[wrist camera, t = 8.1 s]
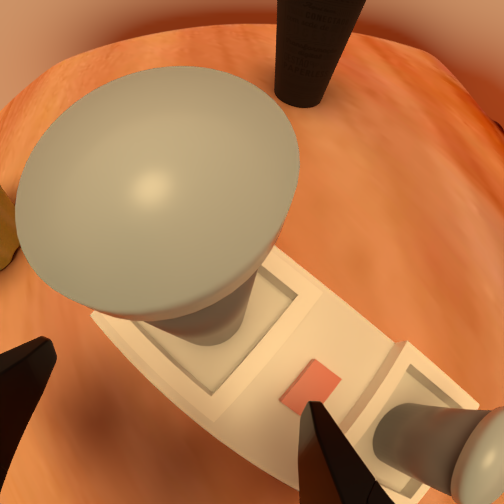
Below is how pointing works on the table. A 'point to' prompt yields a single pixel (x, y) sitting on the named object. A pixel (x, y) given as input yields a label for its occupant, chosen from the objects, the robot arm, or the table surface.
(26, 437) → the table surface
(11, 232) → the plant pot
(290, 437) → the peg insertion board
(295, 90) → the drinking cup
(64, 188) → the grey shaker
